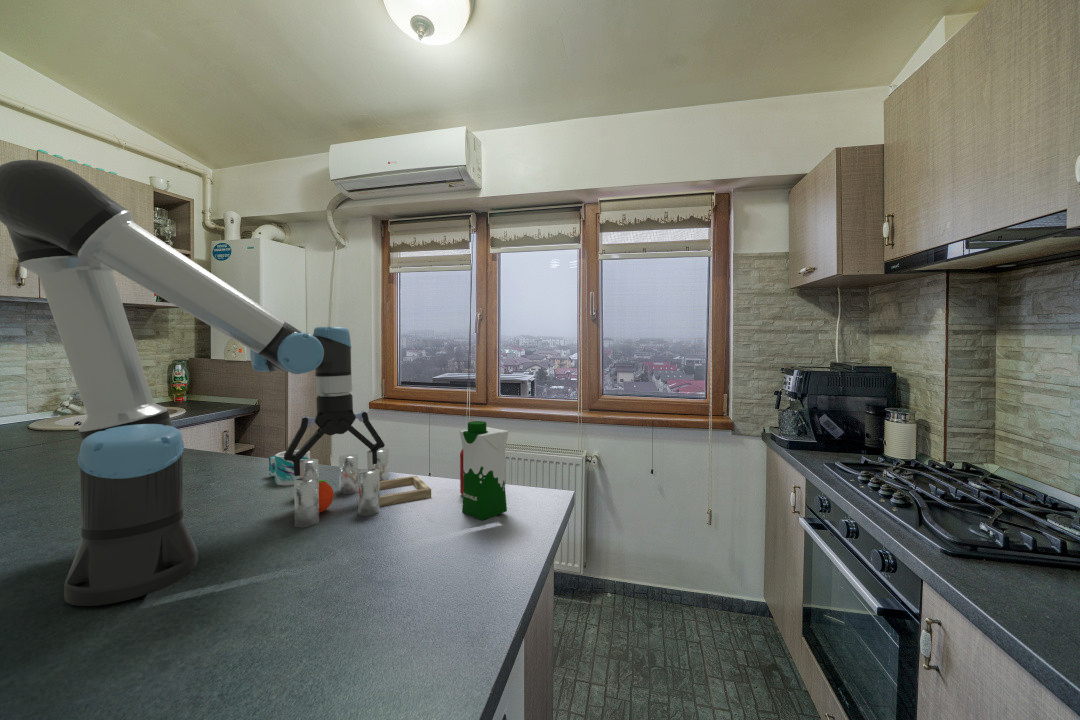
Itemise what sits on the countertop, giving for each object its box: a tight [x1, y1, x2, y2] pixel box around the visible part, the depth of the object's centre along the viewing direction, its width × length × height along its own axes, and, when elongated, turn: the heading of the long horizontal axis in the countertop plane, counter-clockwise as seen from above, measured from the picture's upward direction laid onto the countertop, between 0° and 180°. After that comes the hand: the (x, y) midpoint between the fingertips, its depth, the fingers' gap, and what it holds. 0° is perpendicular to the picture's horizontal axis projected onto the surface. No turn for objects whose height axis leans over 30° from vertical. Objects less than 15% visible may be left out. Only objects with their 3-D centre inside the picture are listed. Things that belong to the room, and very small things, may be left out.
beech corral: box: [380, 475, 432, 507], centre depth 106 cm, size 13×13×2 cm
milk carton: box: [459, 420, 509, 521], centre depth 94 cm, size 9×9×20 cm
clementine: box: [319, 479, 338, 514], centre depth 94 cm, size 8×7×7 cm
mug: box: [268, 449, 311, 486], centre depth 115 cm, size 8×12×8 cm
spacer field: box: [293, 447, 390, 529], centre depth 101 cm, size 24×22×9 cm
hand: (337, 485), depth 100 cm, fingers open, 14 cm apart
